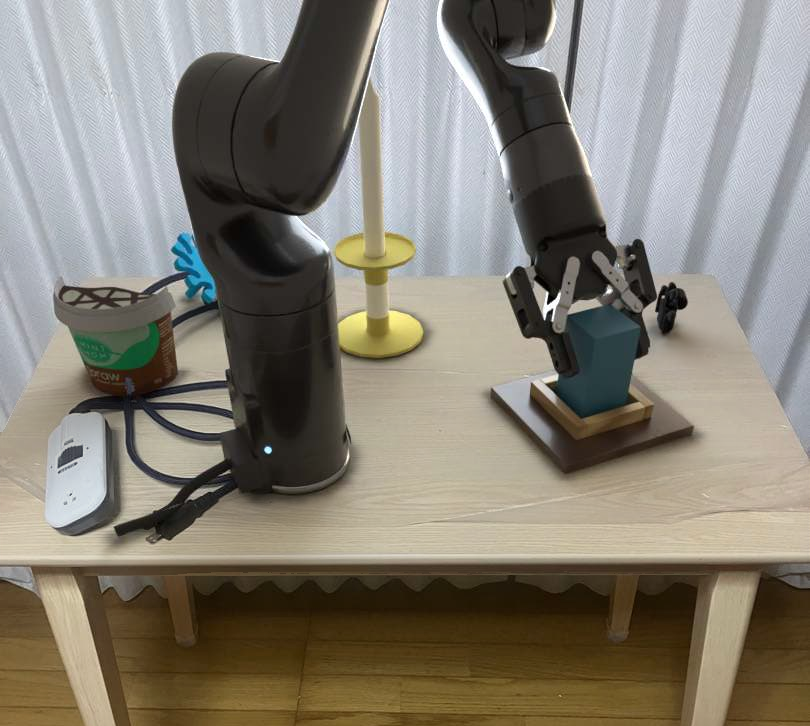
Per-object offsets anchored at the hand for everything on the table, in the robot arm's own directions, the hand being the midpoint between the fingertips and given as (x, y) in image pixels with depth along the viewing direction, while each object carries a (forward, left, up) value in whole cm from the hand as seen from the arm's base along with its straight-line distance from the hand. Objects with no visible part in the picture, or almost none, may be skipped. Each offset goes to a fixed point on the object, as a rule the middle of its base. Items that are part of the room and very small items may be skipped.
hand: (606, 366), depth 78 cm
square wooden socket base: (0, +2, -6) cm, 6 cm away
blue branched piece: (-26, +41, -6) cm, 49 cm away
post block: (0, +2, -5) cm, 6 cm away
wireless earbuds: (+17, +12, -6) cm, 22 cm away
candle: (-12, +24, -6) cm, 28 cm away
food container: (-40, +27, -6) cm, 48 cm away
